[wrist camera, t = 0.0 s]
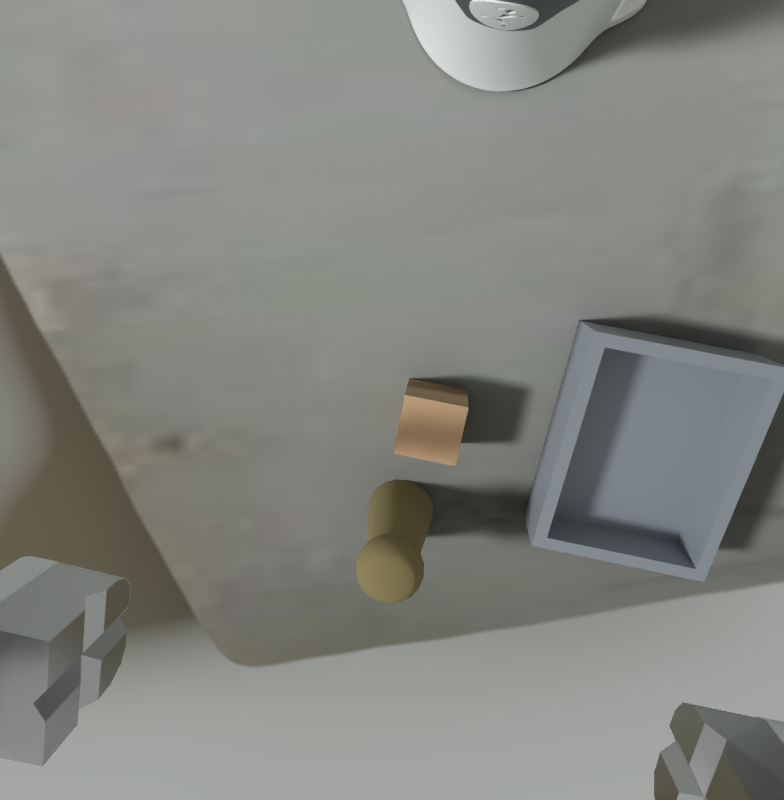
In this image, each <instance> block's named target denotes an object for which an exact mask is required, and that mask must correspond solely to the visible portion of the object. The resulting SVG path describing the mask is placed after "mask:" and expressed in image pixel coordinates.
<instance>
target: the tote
mask: <svg viewBox="0 0 784 800" xmlns="http://www.w3.org/2000/svg"><path fill="white" fill-rule="evenodd" d="M783 393H784V365H782V364H780V363H777V362H775V361H773V360H770V359H768V358H765V357H763V356H761V355H758V354H755V353H750V352H745V351H739V350H734V349H729V348H724V347H718V346H713V345H708V344H703V343H697V342H692V341H687V340H682V339H676V338H671V337H666V336H660V335H655V334H650V333H645V332H639V331H634V330H629V329H624V328H618V327H613V326H608V325H603V324H597V323H592V322H587V321H581V320H579V324H578V327H577V331H576V335H575V338H574V342H573V345H572V349H571V352H570V356H569V359H568V363H567V366H566V370H565V373H564V377H563V380H562V384H561V387H560V391H559V394H558V398H557V401H556V405H555V408H554V412H553V415H552V419H551V422H550V426H549V430H548V433H547V437H546V440H545V444H544V447H543V451H542V454H541V458H540V461H539V465H538V468H537V472H536V475H535V479H534V482H533V486H532V489H531V493H530V496H529V500H528V503H527V507H526V510H525V514H524V517H525V521H526V525H527V529H528V533H529V537H530V541H531V545H532V546H535V547H540V548H545V549H549V550H554V551H559V552H564V553H568V554H573V555H578V556H583V557H587V558H592V559H597V560H602V561H606V562H611V563H616V564H621V565H626V566H630V567H635V568H640V569H645V570H649V571H654V572H659V573H664V574H668V575H673V576H678V577H683V578H687V579H692V580H697V581H702V582H704V581H705V579H706V576H707V574H708V571H709V569H710V567H711V564H712V562H713V560H714V557H715V555H716V552H717V550H718V548H719V545H720V543H721V541H722V538H723V536H724V533H725V531H726V529H727V526H728V524H729V522H730V519H731V517H732V514H733V512H734V510H735V507H736V505H737V502H738V500H739V498H740V495H741V493H742V491H743V488H744V486H745V483H746V481H747V479H748V476H749V474H750V472H751V469H752V467H753V464H754V462H755V460H756V457H757V455H758V453H759V450H760V448H761V445H762V443H763V441H764V438H765V436H766V433H767V431H768V429H769V426H770V424H771V422H772V419H773V417H774V414H775V412H776V410H777V407H778V405H779V403H780V400H781V398H782V395H783Z"/></svg>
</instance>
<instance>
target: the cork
mask: <svg viewBox="0 0 784 800" xmlns="http://www.w3.org/2000/svg"><path fill="white" fill-rule="evenodd" d="M432 518H433V504H432V501H431V498H430V497H429V495H428V494H427V492H426V491H425V490H424V489H423V488H421V487H420V486H419V485H417V484H415V483H412V482H410V481H407V480H394V481H389V482H386V483H384V484H383V485H381V486H379V487H378V488H377V489H376V490H375V491H374V493H373V494H372V496H371V499H370V501H369V513H368V539H367V544H366V545H365V546H364V547H363V548H362V550H361V551H360V554H359V557H358V559H357V562H356V574H357V579H358V581H359V584H360V586H361V587H362V588H363V590H364V591H365V592H366V593H367V595H369V596H370V597H372V598H373V599H375V600H377V601H380V602H383V603H397V602H402V601H404V600H405V599H407V598H409V597H411V596H412V595H413V594H414V593H415V592H416V591H417V590H418V588H419V586H420V584H421V582H422V579H423V574H424V563H423V560H422V557H421V554H420V553H421V550H422V547H423V544H424V541H425V538H426V535H427V532H428V529H429V526H430V523H431V521H432Z"/></svg>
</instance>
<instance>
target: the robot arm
mask: <svg viewBox="0 0 784 800" xmlns="http://www.w3.org/2000/svg"><path fill="white" fill-rule="evenodd" d="M402 1H403V3H404V5H405V7H406V9H407V12H408V15H409V18H410V20H411V23H412V26H413V28H414V31H415V33H416V35H417V37H418V39H419V41H420V43H421V44H422V46H423V48H424V49H425V51H426V52H427V53H428V55H429V56H430V57H431V58H432V60H433V61H434V62H435V63H436V64H437V65H438V66H439V67H440V68H441V69H443V70H444V71H445V72H446V73H447V74H449V75H450V76H452V77H453V78H455V79H457V80H458V81H460V82H462V83H464V84H467V85H469V86H472V87H475V88H478V89H483V90H488V91H514V90H520V89H524V88H528V87H531V86H534V85H537V84H539V83H542V82H544V81H546V80H548V79H550V78H552V77H553V76H555V75H556V74H558V73H560V72H561V71H562V70H564V69H565V68H566V67H568V66H569V65H570V64H571V63H572V62H573V61H574V60H576V59H577V58H578V57H579V56H580V55H581V53H582V52H583V51H584V50H585V49H586V48H587V47H588V46H589V45H590V44H591V42H592V41H593V40H594V39H595V38H596V37H597V36H598V35H600V34H601V33H602V32H603V31H604V30H606V29H608V28H610V27H613V26H615V25H617V24H619V23H621V22H623V21H625V20H626V19H628V18H630V17H632V16H633V15H635V14H636V13H637V12H638V11H640V10H641V9H642V8H643V6H644V5H645V3H646V2H647V0H402ZM130 587H131V586H130V584H129V582H128V581H127V580H126V579H125V578H122V577H118V576H114V575H110V574H106V573H101V572H97V571H93V570H89V569H85V568H81V567H77V566H73V565H69V564H65V563H64V564H61V563H60V562H56V561H52V560H47V559H42V558H38V557H33V556H31V557H22V558H20V559H18V560H17V561H15V562H14V563H12V564H11V565H9V566H7V567H6V568H4V569H3V570H1V571H0V758H6V759H11V760H15V761H20V762H25V763H30V764H35V765H40V766H43V765H44V764H45V763H46V762H47V760H48V759H49V758H50V757H51V755H52V754H53V753H54V752H55V751H56V750H57V748H58V747H59V746H60V745H61V744H62V742H63V741H64V740H65V739H66V737H67V736H68V735H69V734H70V733H71V732H72V731H73V729H74V728H75V727H76V726H77V721H78V710H79V708H81V707H84V706H86V705H88V704H90V703H92V702H94V701H96V700H98V699H99V698H100V696H101V695H102V694H103V693H104V692H105V690H106V689H107V688H108V687H109V685H110V684H111V682H112V680H113V678H114V676H115V674H116V672H117V670H118V668H119V666H120V664H121V662H122V658H123V654H124V651H125V647H126V639H127V630H126V629H125V627H124V625H123V623H122V622H121V620H120V618H119V616H120V615H121V614H122V613H123V612H124V610H125V609H126V608H127V607H128V606H129V605H130ZM670 728H671V730H672V733H673V735H674V738H675V740H676V741H675V742H674V743H672V744H671V745H670V746H668V747H667V748H665V749H664V750H663V751H661V752H660V755H659V758H658V761H657V765H656V768H655V771H654V797H655V800H784V722H782V721H777V720H771V719H766V718H760V717H750V716H746V715H741V714H736V713H731V712H726V711H721V710H717V709H712V708H707V707H703V706H697V705H693V704H688V703H682V704H681V705H680V706H679V707H678V708H677V709H676V710H675V712H674V715H673V717H672V720H671V723H670Z"/></svg>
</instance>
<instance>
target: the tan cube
mask: <svg viewBox="0 0 784 800" xmlns="http://www.w3.org/2000/svg"><path fill="white" fill-rule="evenodd" d="M468 409H469V405H468V393H467V390H466V389H461V388H456V387H451V386H446V385H441V384H436V383H431V382H426V381H420V380H415V379H410V378H409V382H408V385H407V389H406V392H405V396H404V401H403V407H402V412H401V417H400V422H399V428H398V433H397V438H396V443H395V449H394V454H398V455H403V456H408V457H413V458H418V459H422V460H427V461H432V462H437V463H442V464H447V465H452V466H455V465H456V461H457V456H458V452H459V448H460V443H461V439H462V435H463V430H464V426H465V422H466V417H467V413H468Z"/></svg>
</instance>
